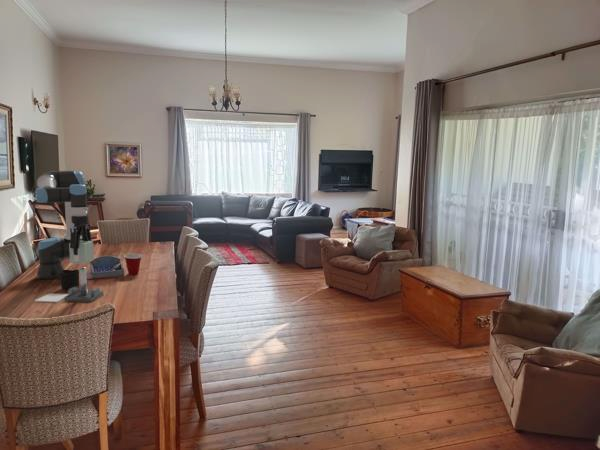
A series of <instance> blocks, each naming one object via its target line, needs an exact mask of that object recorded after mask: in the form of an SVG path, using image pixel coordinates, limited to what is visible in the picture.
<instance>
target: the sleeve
mask: <svg viewBox="0 0 600 450" xmlns="http://www.w3.org/2000/svg"><path fill="white" fill-rule="evenodd" d="M72 246H73V245H72ZM78 248H79V249H80V261H74V251H73V249H72V248H70V243H69V251H70V258H69V263H70V264H89V263H90V262H93V261H94V260H95V254H94V253H95V252H94V251H95V250H94V241H93V240H92V241H79V247H78Z"/></svg>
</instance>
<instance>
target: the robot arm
mask: <svg viewBox="0 0 600 450" xmlns="http://www.w3.org/2000/svg"><path fill="white" fill-rule="evenodd" d="M36 186H37V188H36V189H35V196H36V197H35V198H36V199H35V201H36V202H37V203H39V204H47V203H49V204H50V203H64V209H65V228H66V229H65V230H66V231H65V232H66V233H67V234H66V233H65V234H66V235H65V236H64V235H63V239H61V238H60V237H50V238H45V239H42V240H40V241H39V242H38V245H37V247H38V248H37V250H38V260H39V262H38V263H39V266H38V269H37V274H36V277H37V278H36V279H37V280H55V279H60V271H62V270H65V268H64V266H63V264H62V259H63V260H64V259H70V251H69V243H70V248H72V249H73V251H74V261H80V249H79V248H78V247H79V241H93V240H92V235H91V225H90V224H87V223H89V216H88V214H89V213H88V211H89V208H88V197H87V195H88V194H87V192H88V191H87V185H86V181H85V177H84V174H83V172H82V171H80V170H78V171H77V170H52V171H47V172H45V173H42V174H41V175H40V176H39V177H38V178H37V180H36ZM72 245H73V246H72Z"/></svg>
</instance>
